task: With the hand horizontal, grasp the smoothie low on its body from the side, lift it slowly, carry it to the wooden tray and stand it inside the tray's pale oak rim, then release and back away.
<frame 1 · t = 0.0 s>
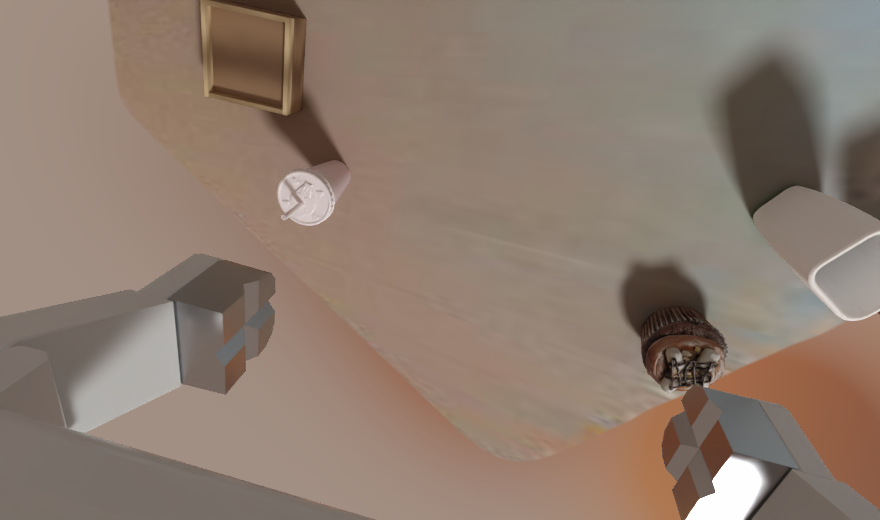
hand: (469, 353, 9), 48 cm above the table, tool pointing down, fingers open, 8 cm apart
cupcake: (673, 330, 62), on the table
smoothie: (337, 174, 60), on the table
cup: (784, 214, 53), on the table
wooden tray: (263, 57, 55), on the table
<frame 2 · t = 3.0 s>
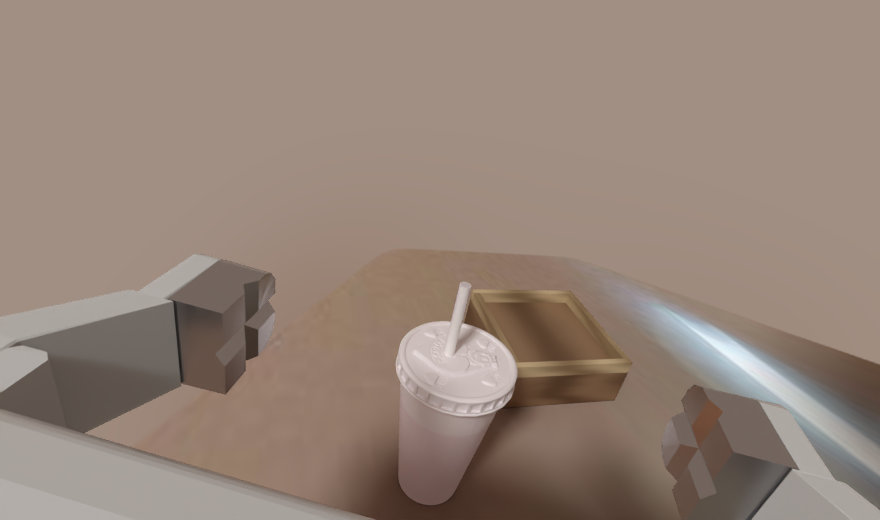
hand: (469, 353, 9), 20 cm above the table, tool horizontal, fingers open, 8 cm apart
smoothie: (427, 479, 29), on the table
wooden tray: (534, 360, 41), on the table
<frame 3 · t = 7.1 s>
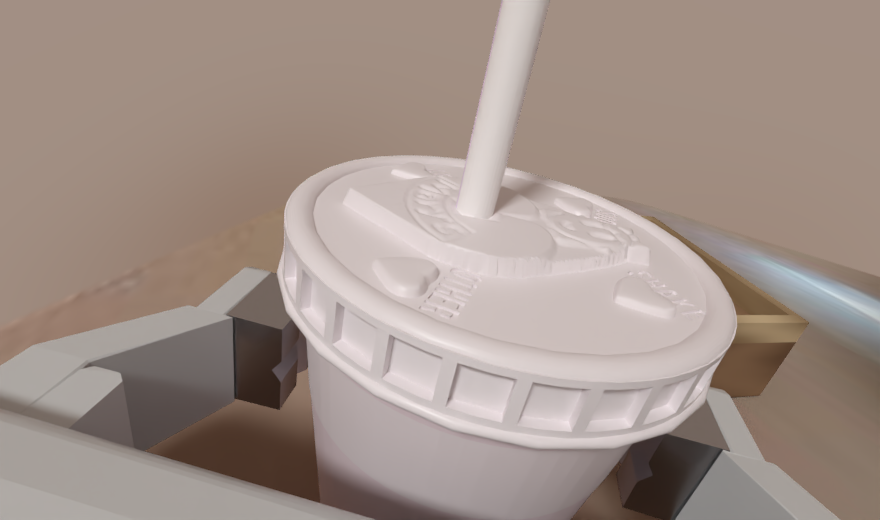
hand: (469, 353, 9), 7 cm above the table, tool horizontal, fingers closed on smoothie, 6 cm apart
wooden tray: (603, 326, 23), on the table
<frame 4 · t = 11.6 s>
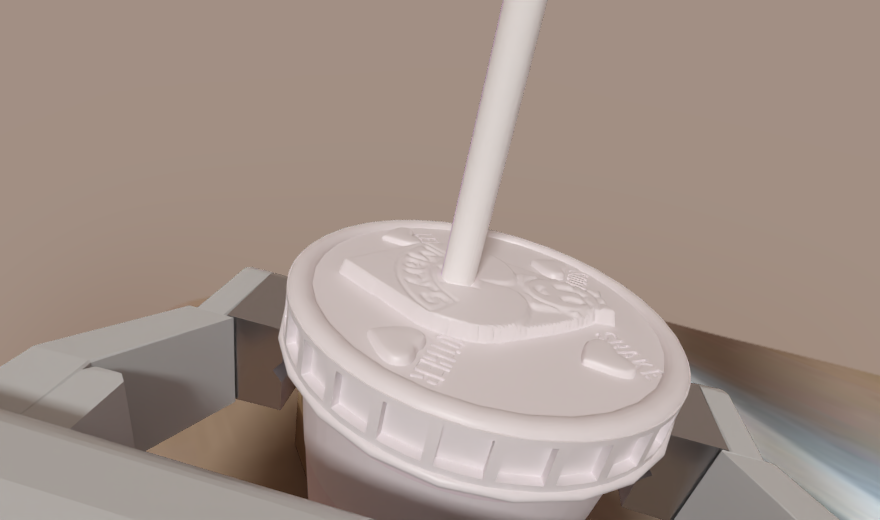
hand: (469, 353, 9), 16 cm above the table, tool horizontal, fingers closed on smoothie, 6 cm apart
wooden tray: (419, 491, 24), on the table
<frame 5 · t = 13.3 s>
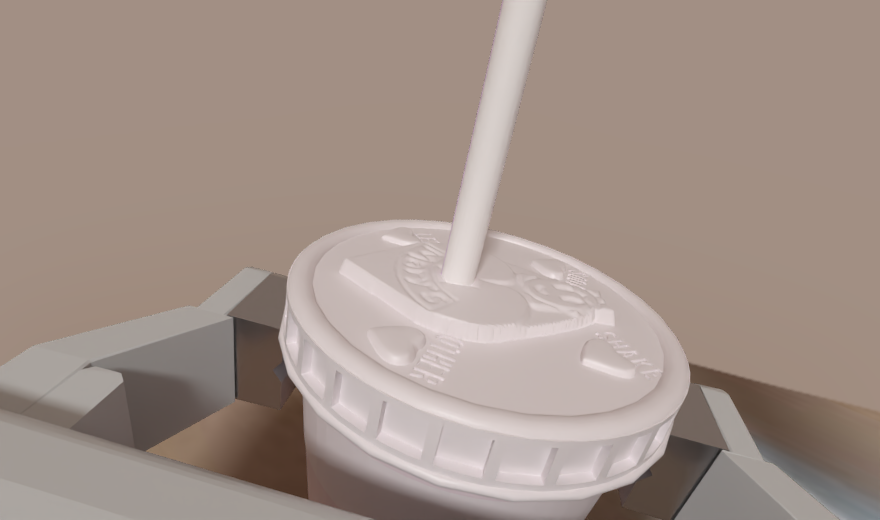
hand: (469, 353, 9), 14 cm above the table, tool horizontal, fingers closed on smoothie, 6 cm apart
when the fingers open (11 cm above the table, at t = 14.6 s): smoothie stays where it is, resting on wooden tray.
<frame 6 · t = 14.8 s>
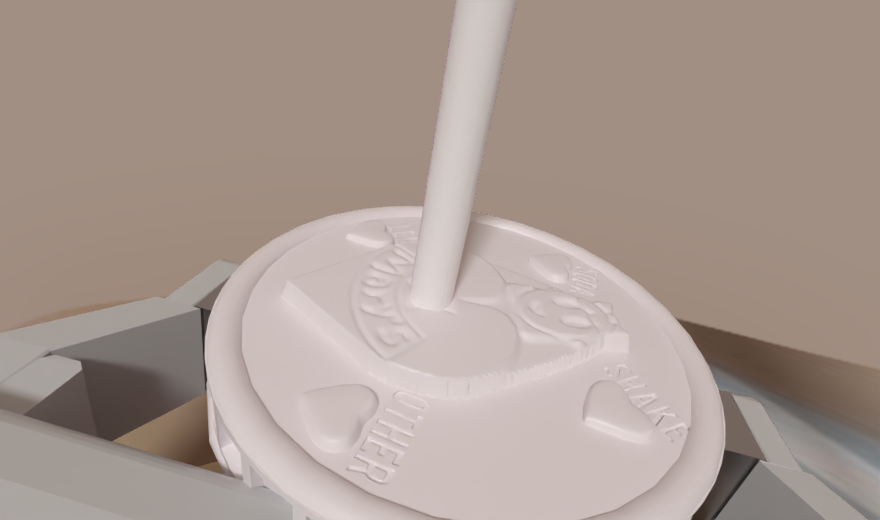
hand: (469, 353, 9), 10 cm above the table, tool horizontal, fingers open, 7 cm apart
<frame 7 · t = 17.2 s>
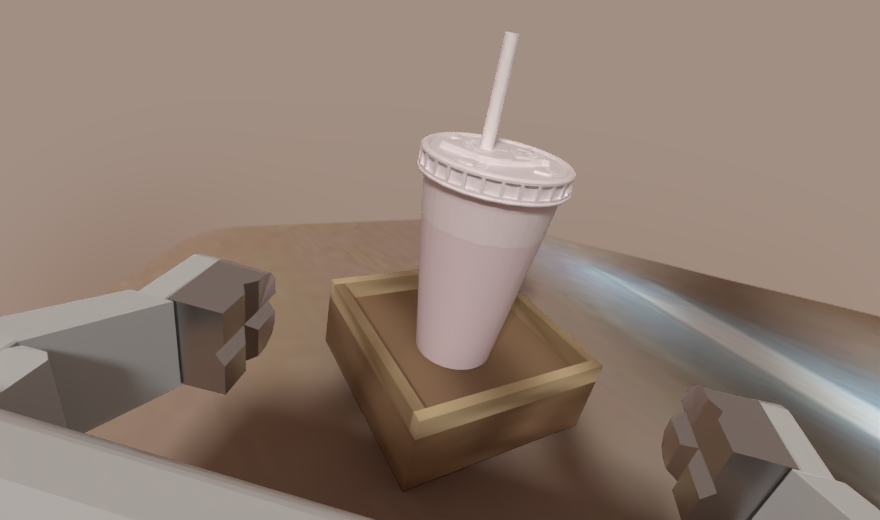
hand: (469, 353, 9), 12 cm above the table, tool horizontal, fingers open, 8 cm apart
smoothie: (452, 347, 23), point 3 cm above the table, touching wooden tray
wooden tray: (445, 380, 25), on the table
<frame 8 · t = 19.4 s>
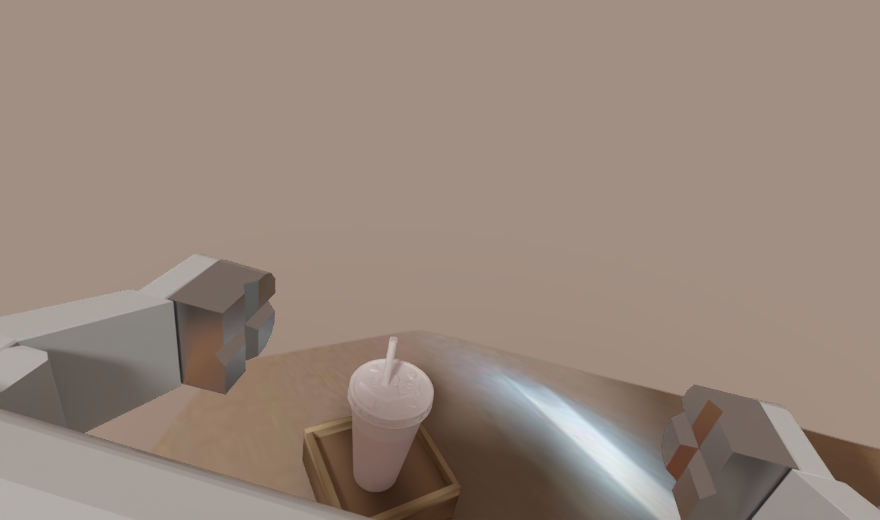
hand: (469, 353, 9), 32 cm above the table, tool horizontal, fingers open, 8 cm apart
smoothie: (375, 473, 39), point 3 cm above the table, touching wooden tray
wooden tray: (375, 487, 41), on the table
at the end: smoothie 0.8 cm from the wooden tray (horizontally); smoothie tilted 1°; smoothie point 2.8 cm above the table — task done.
